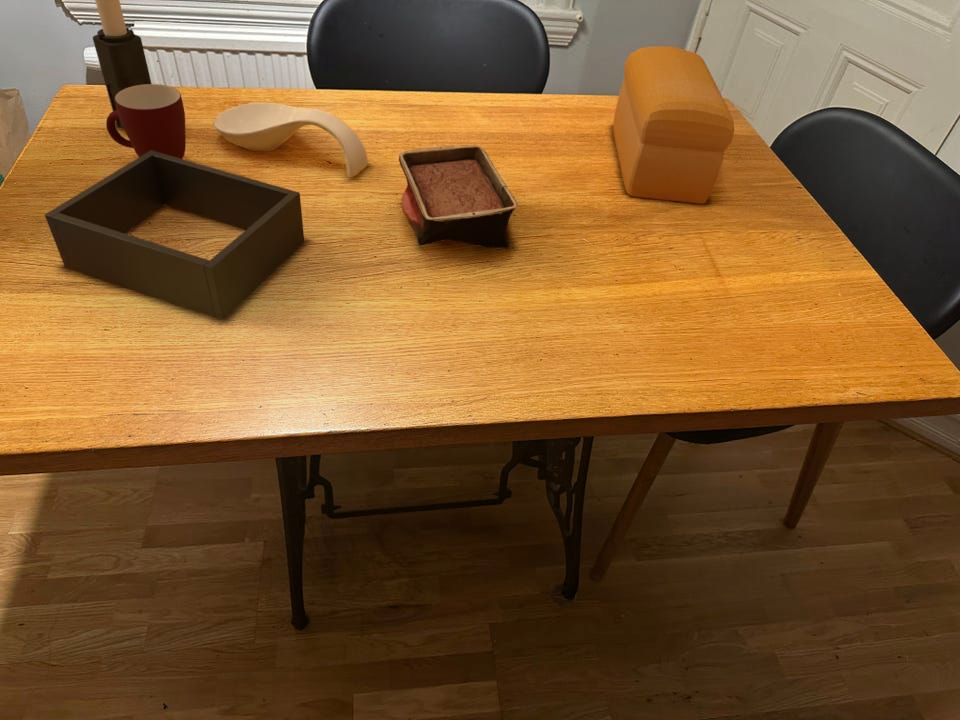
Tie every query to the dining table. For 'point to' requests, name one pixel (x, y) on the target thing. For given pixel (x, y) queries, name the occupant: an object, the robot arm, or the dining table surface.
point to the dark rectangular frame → (165, 271)
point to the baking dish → (456, 196)
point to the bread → (670, 126)
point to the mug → (150, 119)
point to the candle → (119, 52)
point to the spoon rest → (286, 129)
